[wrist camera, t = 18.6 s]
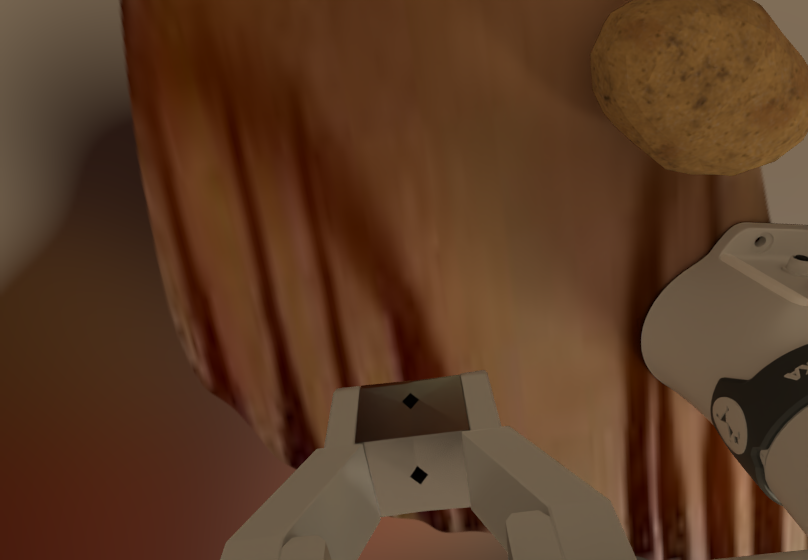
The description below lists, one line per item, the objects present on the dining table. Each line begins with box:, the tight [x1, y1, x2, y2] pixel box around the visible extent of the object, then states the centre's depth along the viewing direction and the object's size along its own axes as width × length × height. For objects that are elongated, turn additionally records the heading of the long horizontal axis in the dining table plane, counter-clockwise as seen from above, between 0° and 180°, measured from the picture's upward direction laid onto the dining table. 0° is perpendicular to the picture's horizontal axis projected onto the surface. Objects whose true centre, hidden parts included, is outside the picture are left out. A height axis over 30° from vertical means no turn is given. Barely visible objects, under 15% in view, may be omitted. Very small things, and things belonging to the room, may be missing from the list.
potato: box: [590, 0, 808, 176], centre depth 31 cm, size 10×14×8 cm
